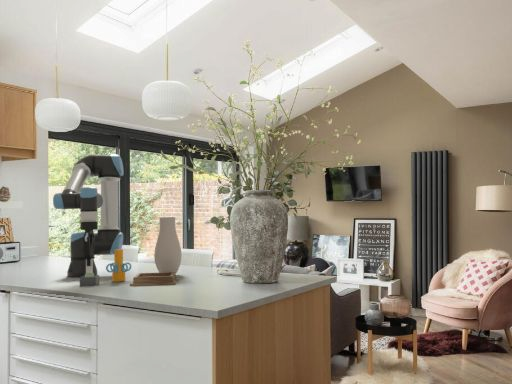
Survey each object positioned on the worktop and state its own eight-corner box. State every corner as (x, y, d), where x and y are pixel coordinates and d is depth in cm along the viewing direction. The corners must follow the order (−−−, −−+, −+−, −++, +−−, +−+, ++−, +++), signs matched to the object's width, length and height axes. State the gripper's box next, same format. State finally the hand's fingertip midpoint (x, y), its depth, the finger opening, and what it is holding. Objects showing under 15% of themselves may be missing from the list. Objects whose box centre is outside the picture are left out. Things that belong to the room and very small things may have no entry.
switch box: (83, 284, 235) (83, 275, 235) (99, 283, 236) (99, 275, 236) (79, 286, 228) (79, 277, 228) (95, 286, 229) (95, 277, 229)
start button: (86, 279, 234) (86, 273, 234) (95, 279, 234) (95, 272, 234) (83, 281, 230) (83, 274, 230) (93, 280, 230) (92, 274, 230)
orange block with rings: (126, 282, 239) (126, 250, 239) (104, 283, 239) (103, 250, 239) (133, 279, 251) (132, 248, 251) (112, 279, 251) (111, 248, 251)
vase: (176, 277, 255) (175, 217, 256) (150, 277, 257) (149, 217, 258) (185, 273, 268) (184, 216, 269) (160, 273, 270) (159, 217, 272)
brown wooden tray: (136, 280, 246) (136, 273, 246) (178, 278, 248) (177, 271, 248) (129, 285, 227) (129, 278, 227) (175, 284, 229) (175, 276, 229)
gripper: (84, 221, 239) (84, 271, 238) (76, 221, 226) (77, 275, 225) (100, 220, 240) (100, 271, 239) (94, 221, 227) (94, 274, 226)
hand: (89, 273), depth 232 cm, fingers closed
